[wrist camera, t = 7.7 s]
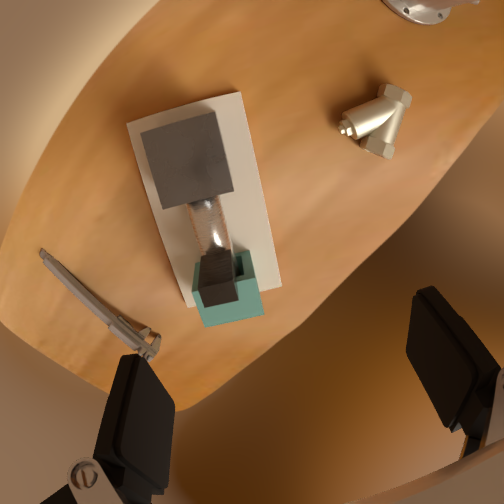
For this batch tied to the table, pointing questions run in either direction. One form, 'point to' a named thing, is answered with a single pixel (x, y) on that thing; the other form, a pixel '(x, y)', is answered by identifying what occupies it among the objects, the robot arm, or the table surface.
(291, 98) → the table surface
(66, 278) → the caliper
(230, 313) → the socket block
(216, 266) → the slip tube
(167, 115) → the base board
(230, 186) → the dark grey block
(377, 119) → the pipe fitting
